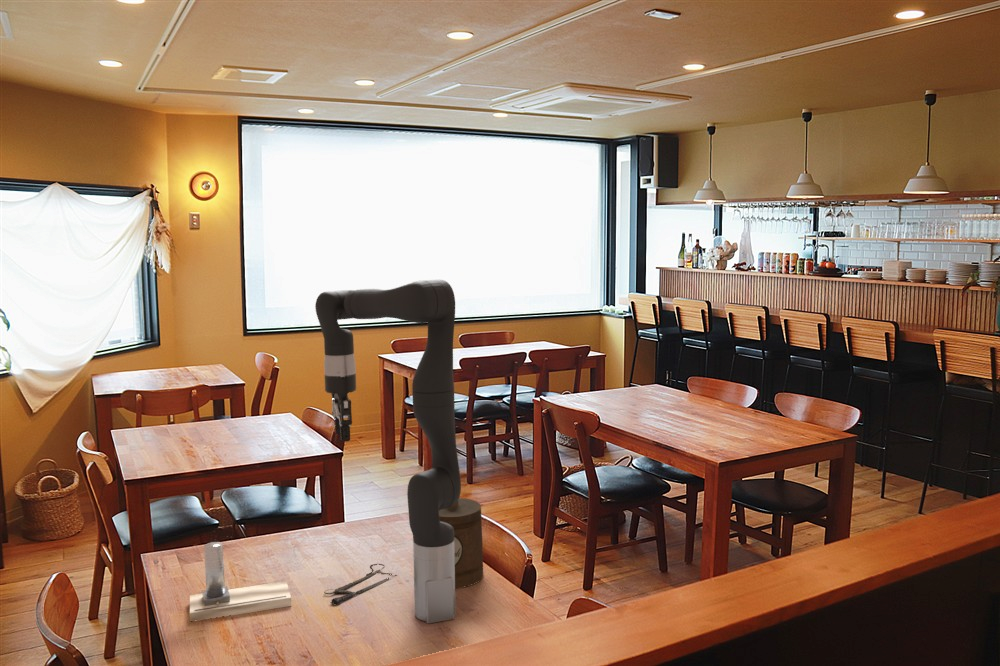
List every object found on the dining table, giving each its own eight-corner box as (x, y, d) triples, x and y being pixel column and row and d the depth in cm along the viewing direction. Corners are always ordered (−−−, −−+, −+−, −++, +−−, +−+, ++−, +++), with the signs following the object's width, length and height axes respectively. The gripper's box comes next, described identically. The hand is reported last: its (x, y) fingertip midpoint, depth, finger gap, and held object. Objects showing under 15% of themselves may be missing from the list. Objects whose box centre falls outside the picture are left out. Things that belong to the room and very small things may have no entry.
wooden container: (411, 577, 208) (409, 492, 205) (454, 560, 218) (452, 479, 216) (453, 594, 198) (451, 505, 195) (495, 575, 208) (494, 490, 206)
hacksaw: (335, 607, 192) (334, 601, 192) (305, 596, 198) (305, 590, 198) (406, 573, 211) (406, 567, 211) (377, 564, 217) (377, 558, 217)
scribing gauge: (230, 603, 189) (227, 549, 187) (205, 608, 187) (202, 553, 185) (227, 592, 195) (224, 539, 194) (202, 596, 193) (199, 542, 191)
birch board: (291, 605, 192) (291, 597, 192) (190, 621, 185) (189, 613, 184) (286, 588, 202) (286, 580, 201) (190, 603, 194) (189, 595, 194)
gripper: (320, 369, 208) (323, 432, 210) (329, 377, 195) (331, 445, 197) (350, 367, 211) (352, 430, 212) (360, 375, 197) (363, 442, 199)
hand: (342, 437), depth 205 cm, fingers open, 8 cm apart
